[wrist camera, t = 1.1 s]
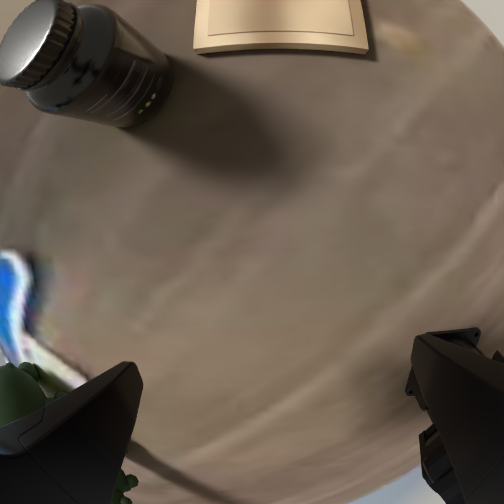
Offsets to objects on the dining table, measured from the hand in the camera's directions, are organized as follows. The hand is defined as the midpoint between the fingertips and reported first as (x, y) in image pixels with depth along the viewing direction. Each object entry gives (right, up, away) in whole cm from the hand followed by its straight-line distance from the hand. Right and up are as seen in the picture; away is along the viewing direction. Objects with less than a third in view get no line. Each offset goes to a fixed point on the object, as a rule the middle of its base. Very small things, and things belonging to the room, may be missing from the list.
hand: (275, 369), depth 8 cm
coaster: (+1, +23, +7) cm, 24 cm away
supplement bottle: (-10, +16, +10) cm, 21 cm away
